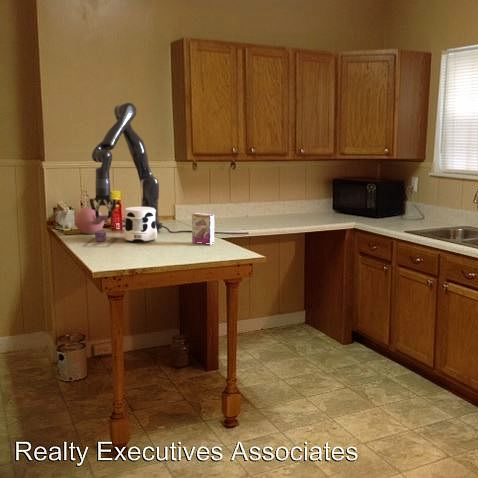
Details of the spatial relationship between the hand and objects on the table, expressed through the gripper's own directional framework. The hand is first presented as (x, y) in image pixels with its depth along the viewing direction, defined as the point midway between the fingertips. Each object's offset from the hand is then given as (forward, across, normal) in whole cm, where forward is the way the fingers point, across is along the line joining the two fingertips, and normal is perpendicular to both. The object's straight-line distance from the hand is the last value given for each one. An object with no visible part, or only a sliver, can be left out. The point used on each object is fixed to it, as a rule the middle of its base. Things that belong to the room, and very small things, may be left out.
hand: (103, 217), depth 327 cm
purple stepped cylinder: (+9, 0, -8) cm, 12 cm away
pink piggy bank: (+12, -10, +12) cm, 20 cm away
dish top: (+1, 0, 0) cm, 1 cm away
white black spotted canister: (+12, +20, -4) cm, 24 cm away
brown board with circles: (+12, 0, -8) cm, 14 cm away
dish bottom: (+12, 0, -8) cm, 14 cm away
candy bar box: (+12, +54, -7) cm, 56 cm away
